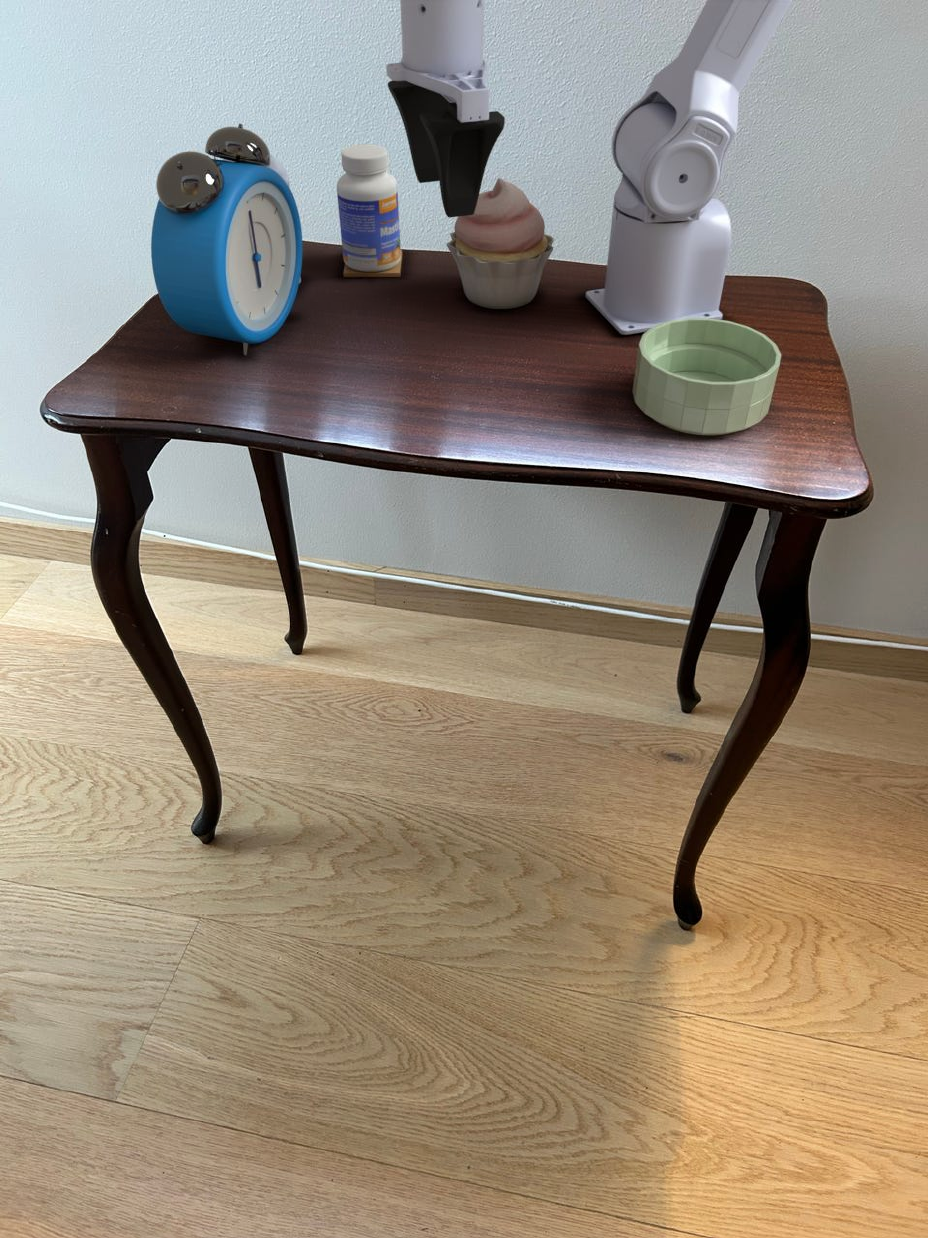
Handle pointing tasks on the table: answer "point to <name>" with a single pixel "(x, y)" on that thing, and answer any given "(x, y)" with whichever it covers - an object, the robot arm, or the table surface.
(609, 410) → the table surface
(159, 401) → the table surface
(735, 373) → the bowl
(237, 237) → the alarm clock
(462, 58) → the robot arm
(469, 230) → the cupcake
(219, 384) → the table surface
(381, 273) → the coaster
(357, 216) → the pill bottle
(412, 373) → the table surface
